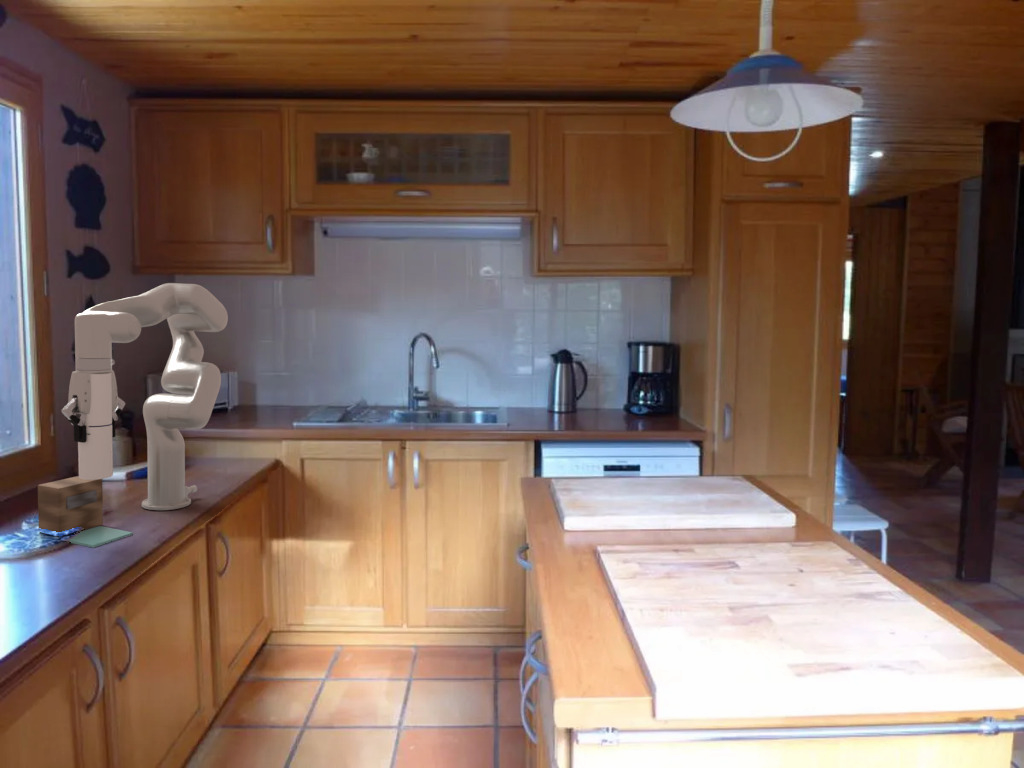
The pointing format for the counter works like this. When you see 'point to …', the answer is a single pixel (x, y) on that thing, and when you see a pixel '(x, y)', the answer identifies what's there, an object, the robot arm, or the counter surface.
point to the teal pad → (98, 536)
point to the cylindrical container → (98, 432)
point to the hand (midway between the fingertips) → (95, 438)
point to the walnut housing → (70, 504)
